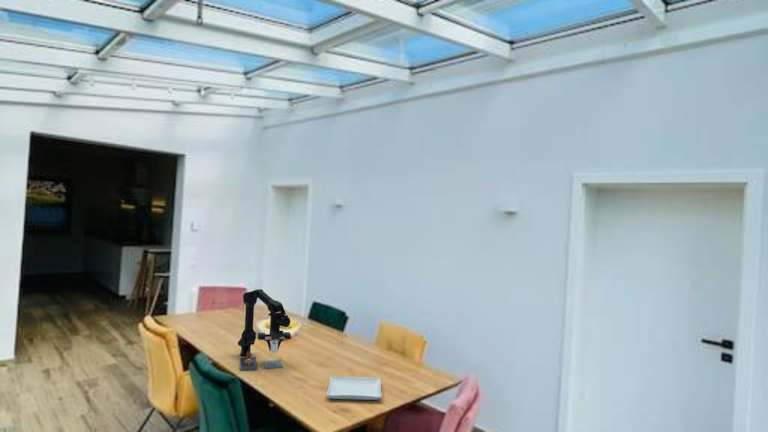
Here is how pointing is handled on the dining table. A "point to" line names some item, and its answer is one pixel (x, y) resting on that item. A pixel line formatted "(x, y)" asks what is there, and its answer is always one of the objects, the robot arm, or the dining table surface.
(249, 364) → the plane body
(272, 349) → the lever cap
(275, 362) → the rest mat
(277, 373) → the dining table surface
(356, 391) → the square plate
